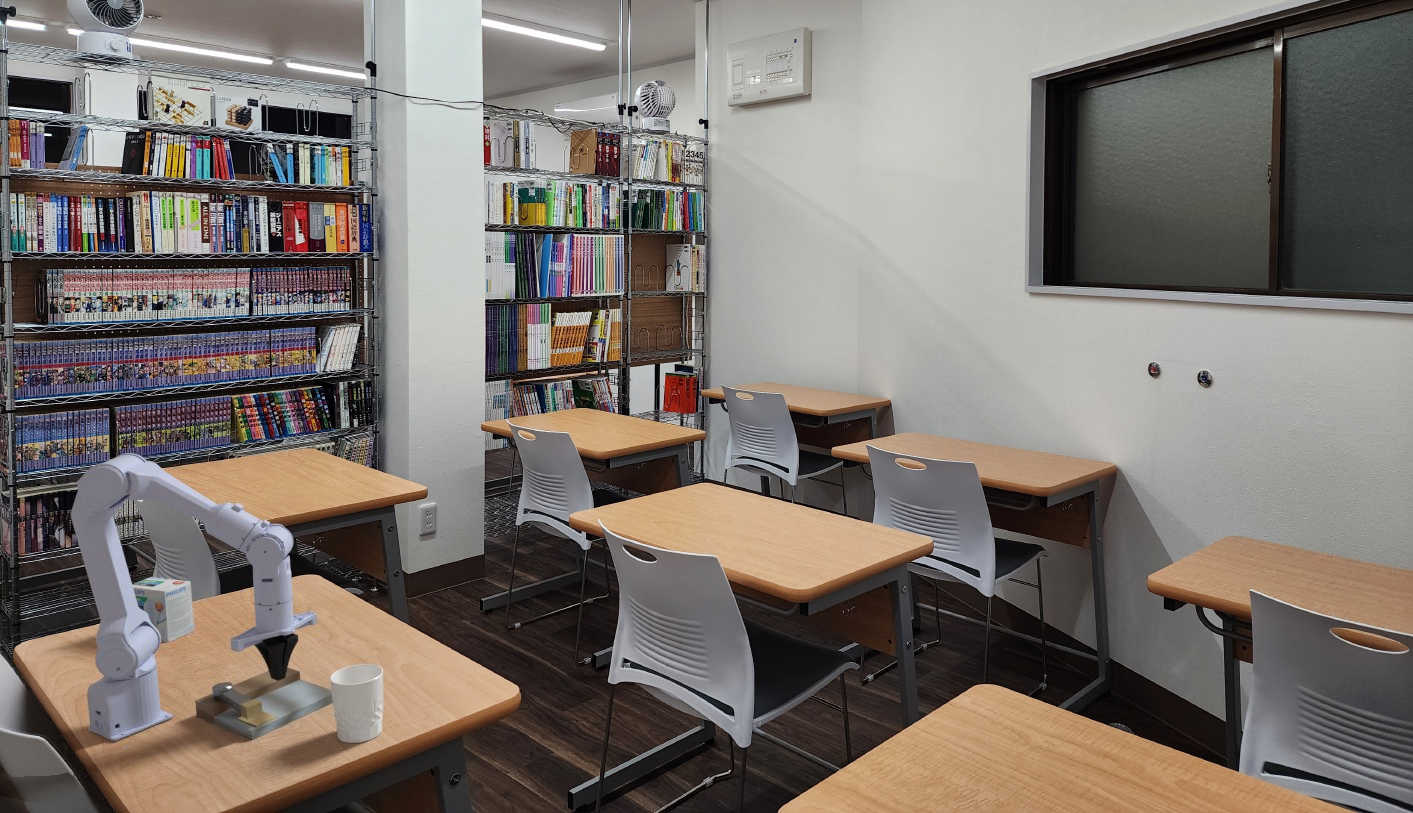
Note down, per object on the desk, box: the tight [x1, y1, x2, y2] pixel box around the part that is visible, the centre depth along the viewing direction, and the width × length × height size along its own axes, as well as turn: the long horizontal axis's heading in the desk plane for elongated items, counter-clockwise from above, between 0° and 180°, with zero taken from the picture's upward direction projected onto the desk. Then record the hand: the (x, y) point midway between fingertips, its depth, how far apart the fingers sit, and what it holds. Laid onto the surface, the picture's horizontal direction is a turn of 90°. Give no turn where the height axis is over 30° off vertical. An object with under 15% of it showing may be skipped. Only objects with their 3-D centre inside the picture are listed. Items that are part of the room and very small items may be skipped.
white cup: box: [329, 663, 384, 744], centre depth 148 cm, size 8×8×10 cm
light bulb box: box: [132, 576, 195, 643], centre depth 190 cm, size 11×7×11 cm, turn 73°
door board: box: [194, 667, 333, 741], centre depth 157 cm, size 16×15×3 cm
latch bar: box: [211, 681, 263, 720], centre depth 151 cm, size 13×3×2 cm, turn 50°
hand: (278, 678), depth 155 cm, fingers closed
